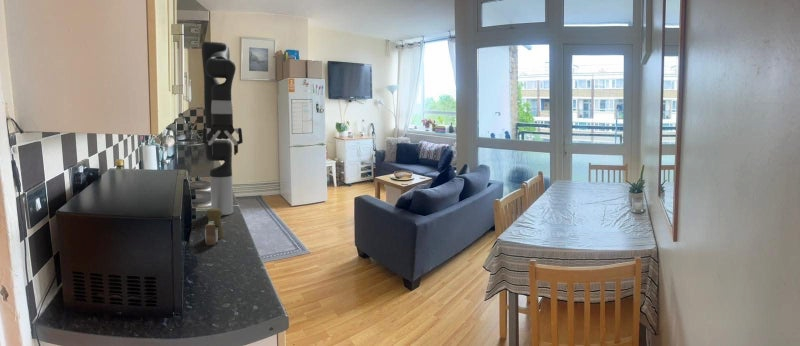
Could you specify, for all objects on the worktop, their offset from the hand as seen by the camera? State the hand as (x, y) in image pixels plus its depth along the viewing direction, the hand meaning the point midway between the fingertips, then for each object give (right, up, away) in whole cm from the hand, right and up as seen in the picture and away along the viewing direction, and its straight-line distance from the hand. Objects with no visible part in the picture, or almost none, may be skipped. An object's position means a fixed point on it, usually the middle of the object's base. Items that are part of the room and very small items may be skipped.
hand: (223, 154), depth 178 cm
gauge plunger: (0, -32, -11) cm, 34 cm away
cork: (-1, -32, -5) cm, 32 cm away
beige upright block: (0, -32, -12) cm, 34 cm away
